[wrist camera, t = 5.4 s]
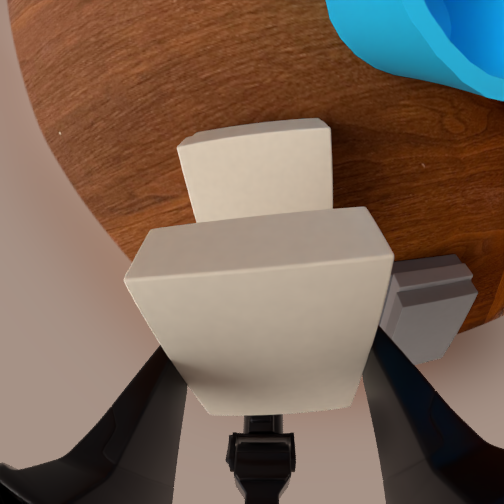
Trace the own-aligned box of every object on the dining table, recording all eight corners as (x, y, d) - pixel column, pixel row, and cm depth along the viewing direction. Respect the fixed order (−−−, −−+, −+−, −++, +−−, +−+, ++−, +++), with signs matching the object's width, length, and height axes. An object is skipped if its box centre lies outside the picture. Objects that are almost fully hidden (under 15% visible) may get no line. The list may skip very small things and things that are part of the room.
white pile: (323, 247, 20) (332, 282, 17) (223, 257, 20) (216, 292, 18) (318, 114, 14) (333, 127, 11) (193, 129, 15) (176, 146, 12)
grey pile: (429, 323, 25) (443, 357, 21) (368, 334, 26) (377, 373, 22) (456, 251, 19) (482, 288, 16) (384, 260, 20) (404, 303, 17)
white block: (343, 364, 12) (350, 407, 10) (214, 373, 12) (209, 415, 11) (366, 204, 7) (396, 255, 5) (149, 228, 8) (121, 280, 6)
